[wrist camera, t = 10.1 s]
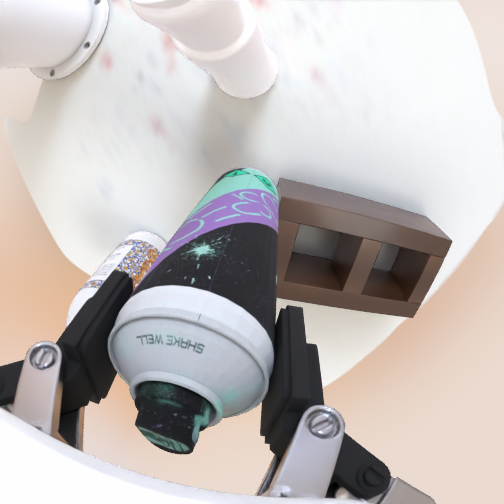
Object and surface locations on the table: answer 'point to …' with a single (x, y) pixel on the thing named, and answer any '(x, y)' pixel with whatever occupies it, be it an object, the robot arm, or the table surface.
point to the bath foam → (121, 265)
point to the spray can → (204, 316)
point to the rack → (356, 252)
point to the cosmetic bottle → (217, 40)
